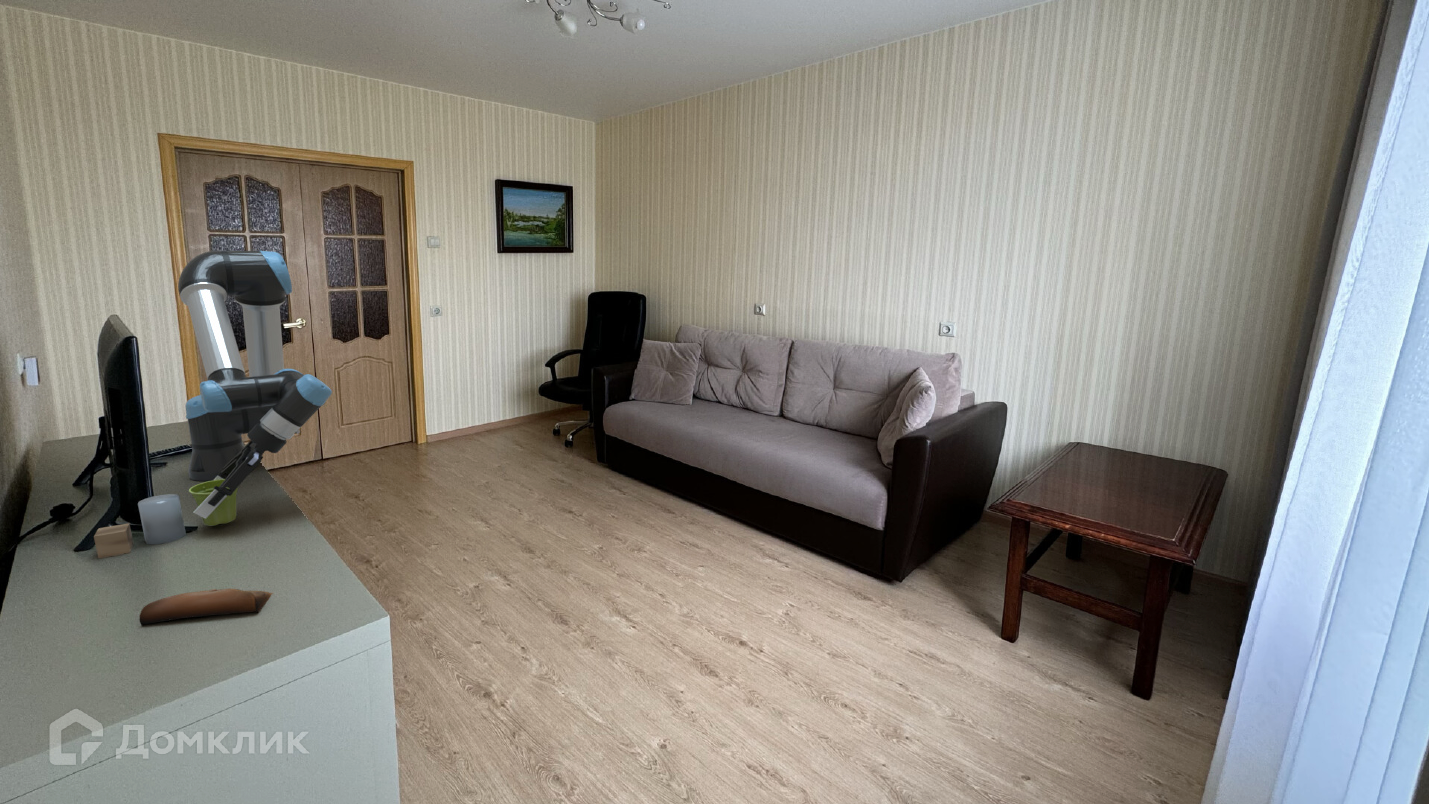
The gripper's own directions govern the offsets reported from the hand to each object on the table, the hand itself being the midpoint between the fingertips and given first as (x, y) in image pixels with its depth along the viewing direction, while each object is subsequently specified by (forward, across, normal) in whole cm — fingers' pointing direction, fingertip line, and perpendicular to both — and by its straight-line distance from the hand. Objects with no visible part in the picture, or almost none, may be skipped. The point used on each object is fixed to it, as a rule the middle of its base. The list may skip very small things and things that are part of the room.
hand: (200, 508), depth 151 cm
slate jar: (+9, -1, +1) cm, 9 cm away
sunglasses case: (+2, -44, -6) cm, 45 cm away
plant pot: (+1, 0, -5) cm, 5 cm away
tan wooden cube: (+14, -4, +7) cm, 16 cm away
